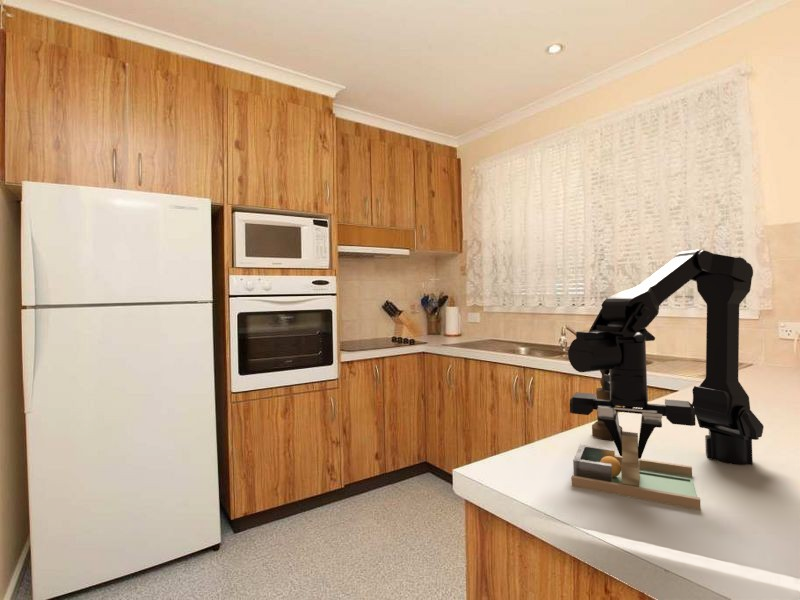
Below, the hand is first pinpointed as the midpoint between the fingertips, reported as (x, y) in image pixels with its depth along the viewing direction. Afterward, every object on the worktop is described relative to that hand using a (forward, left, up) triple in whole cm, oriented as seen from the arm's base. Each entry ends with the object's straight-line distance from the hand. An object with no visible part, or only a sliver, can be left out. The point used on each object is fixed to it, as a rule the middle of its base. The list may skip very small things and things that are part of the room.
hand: (630, 456), depth 73 cm
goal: (+6, 0, -4) cm, 7 cm away
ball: (+3, 0, -2) cm, 4 cm away
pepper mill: (+6, -27, -5) cm, 28 cm away
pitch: (0, 0, -5) cm, 5 cm away
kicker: (0, 0, -4) cm, 4 cm away
